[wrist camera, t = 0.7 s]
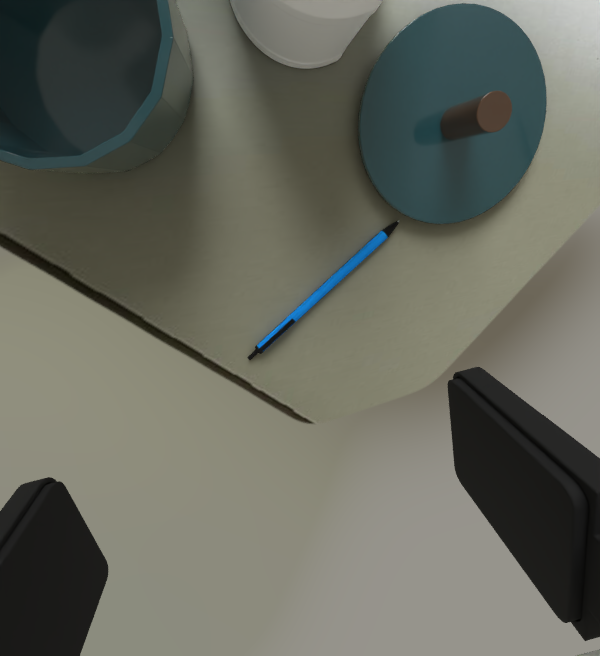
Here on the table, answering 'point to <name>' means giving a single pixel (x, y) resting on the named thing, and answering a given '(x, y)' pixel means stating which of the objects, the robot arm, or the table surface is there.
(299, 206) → the table surface
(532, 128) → the lid
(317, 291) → the pen
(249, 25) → the jar
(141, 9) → the pot
